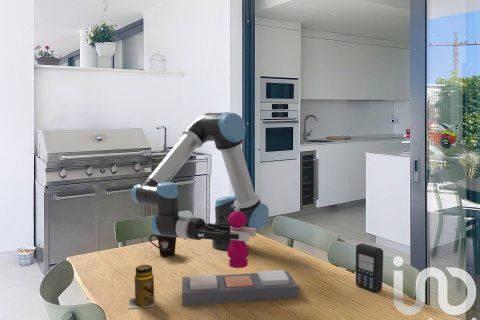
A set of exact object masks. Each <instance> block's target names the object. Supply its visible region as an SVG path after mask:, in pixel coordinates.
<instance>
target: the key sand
mask: <svg viewBox="0 0 480 320" xmlns="http://www.w3.org/2000/svg"><path fill="white" fill-rule="evenodd" d="M216 275H217V274H216V273H207V274H189V277H190V290H200V289H216V288H218V287H217V279H216Z"/></svg>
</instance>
